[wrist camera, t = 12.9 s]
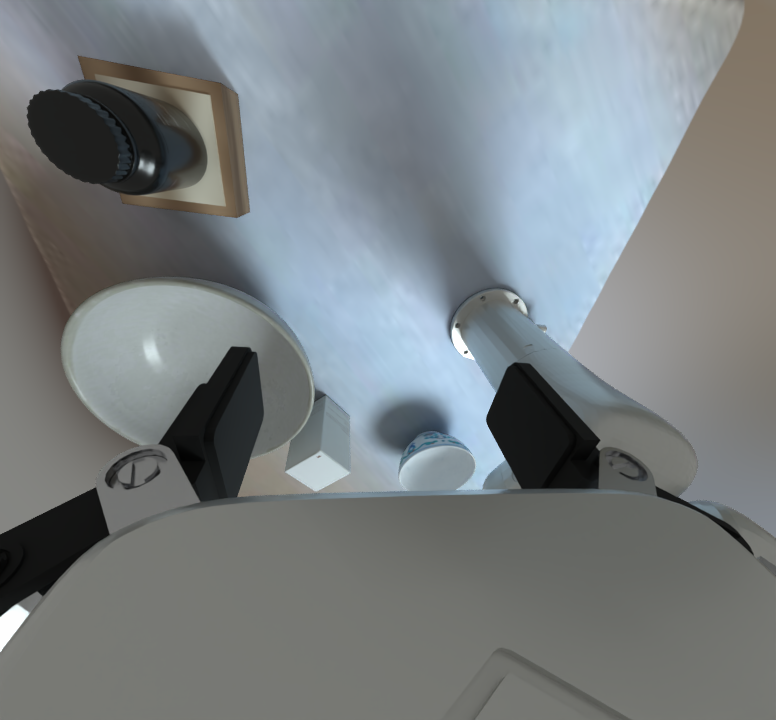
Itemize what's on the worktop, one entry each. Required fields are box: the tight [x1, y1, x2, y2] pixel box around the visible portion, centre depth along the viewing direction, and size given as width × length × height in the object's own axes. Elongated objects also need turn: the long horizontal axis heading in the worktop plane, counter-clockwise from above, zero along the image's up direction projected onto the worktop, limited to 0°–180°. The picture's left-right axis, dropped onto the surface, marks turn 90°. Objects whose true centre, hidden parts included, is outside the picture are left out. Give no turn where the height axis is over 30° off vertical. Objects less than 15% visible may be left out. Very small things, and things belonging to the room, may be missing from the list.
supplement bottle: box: [27, 79, 208, 196], centre depth 23 cm, size 7×7×12 cm
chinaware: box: [399, 431, 476, 491], centre depth 60 cm, size 15×15×8 cm
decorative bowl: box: [61, 277, 315, 459], centre depth 40 cm, size 27×27×12 cm
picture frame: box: [78, 56, 250, 218], centre depth 30 cm, size 11×11×5 cm
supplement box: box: [285, 395, 351, 492], centre depth 50 cm, size 7×7×13 cm
